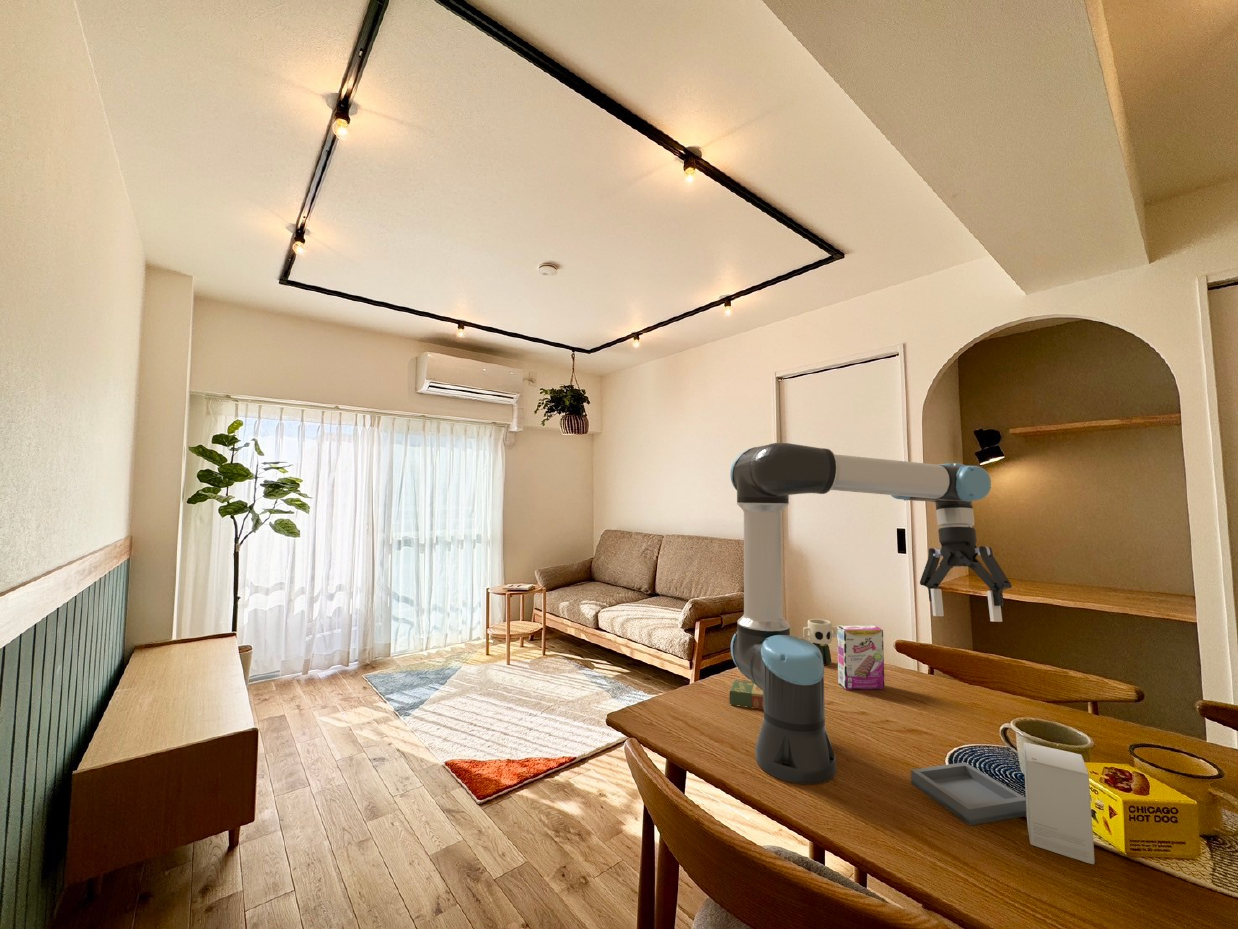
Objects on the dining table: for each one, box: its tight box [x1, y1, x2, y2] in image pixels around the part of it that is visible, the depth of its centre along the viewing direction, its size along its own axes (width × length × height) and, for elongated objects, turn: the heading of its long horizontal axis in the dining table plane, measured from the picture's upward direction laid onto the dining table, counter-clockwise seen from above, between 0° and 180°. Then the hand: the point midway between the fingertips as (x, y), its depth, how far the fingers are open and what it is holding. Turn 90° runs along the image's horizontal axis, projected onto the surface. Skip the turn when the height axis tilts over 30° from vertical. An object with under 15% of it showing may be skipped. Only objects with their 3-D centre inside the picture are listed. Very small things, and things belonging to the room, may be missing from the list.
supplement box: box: [1023, 741, 1095, 865], centre depth 76 cm, size 7×7×13 cm
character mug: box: [802, 618, 837, 665], centre depth 159 cm, size 11×7×13 cm, turn 93°
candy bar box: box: [836, 624, 885, 691], centre depth 139 cm, size 11×5×16 cm, turn 92°
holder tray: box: [910, 761, 1027, 826], centre depth 87 cm, size 12×12×2 cm
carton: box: [728, 679, 763, 710], centre depth 128 cm, size 8×16×4 cm, turn 69°
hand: (965, 618), depth 116 cm, fingers open, 13 cm apart
